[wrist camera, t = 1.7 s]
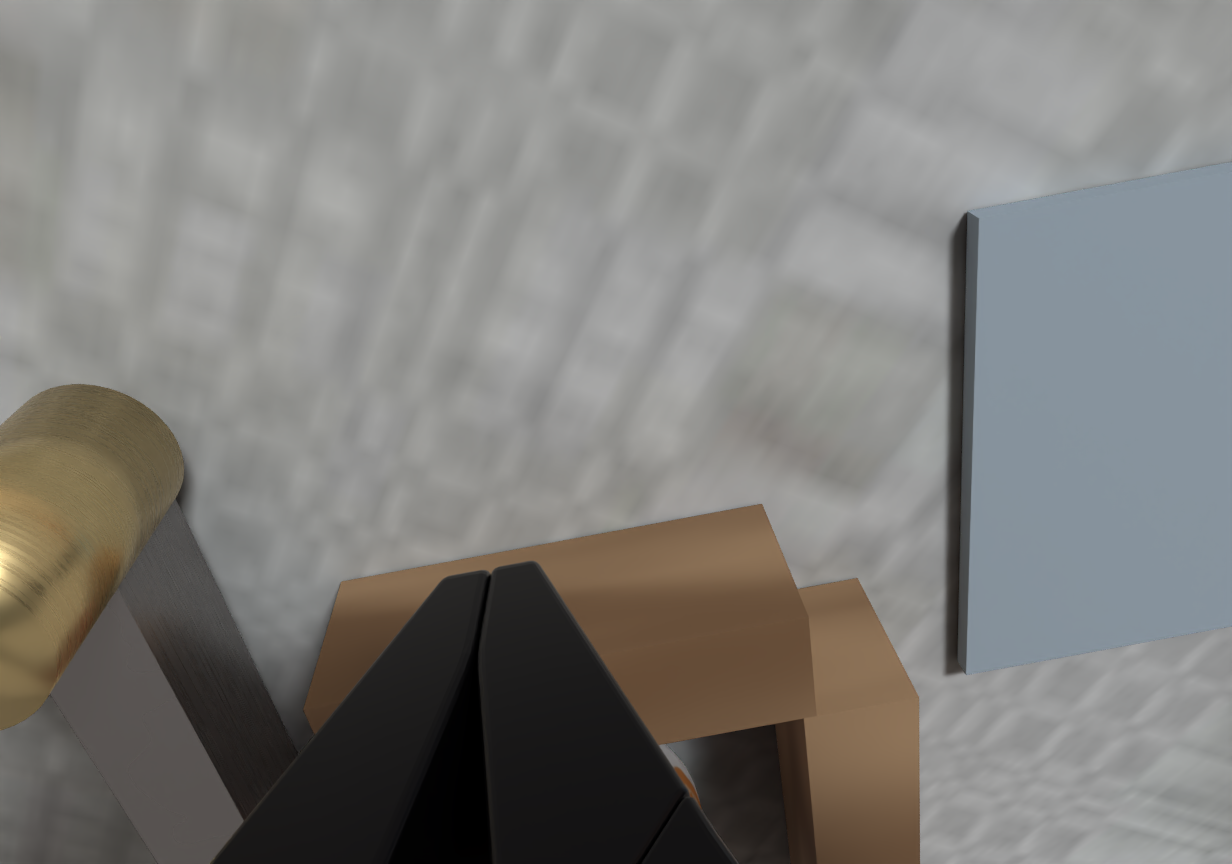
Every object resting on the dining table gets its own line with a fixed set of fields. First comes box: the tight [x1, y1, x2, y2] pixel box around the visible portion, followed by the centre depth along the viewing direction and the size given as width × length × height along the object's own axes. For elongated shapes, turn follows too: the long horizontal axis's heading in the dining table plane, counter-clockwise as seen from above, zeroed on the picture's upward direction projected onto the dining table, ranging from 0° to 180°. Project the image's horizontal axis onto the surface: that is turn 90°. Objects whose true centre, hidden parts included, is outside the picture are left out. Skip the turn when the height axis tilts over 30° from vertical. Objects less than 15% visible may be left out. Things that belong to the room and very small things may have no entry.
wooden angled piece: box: [303, 504, 920, 864], centre depth 17 cm, size 12×13×3 cm
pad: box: [958, 162, 1232, 675], centre depth 15 cm, size 9×9×1 cm
